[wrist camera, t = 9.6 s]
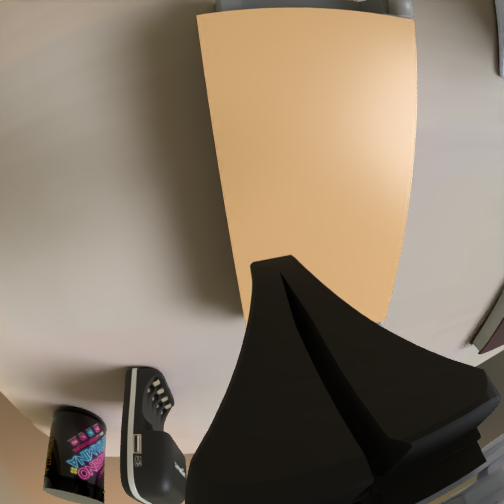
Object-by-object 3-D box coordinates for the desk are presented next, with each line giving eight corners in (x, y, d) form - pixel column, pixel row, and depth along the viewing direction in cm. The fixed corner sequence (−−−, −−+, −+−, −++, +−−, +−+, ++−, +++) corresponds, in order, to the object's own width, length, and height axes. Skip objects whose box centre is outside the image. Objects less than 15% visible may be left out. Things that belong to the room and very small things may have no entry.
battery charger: (183, 401, 28) (193, 509, 19) (147, 404, 28) (149, 509, 18) (167, 361, 24) (172, 494, 15) (124, 364, 24) (117, 492, 14)
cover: (401, 21, 10) (414, 20, 9) (378, 310, 20) (385, 320, 19) (196, 19, 9) (196, 15, 8) (248, 339, 19) (250, 351, 18)
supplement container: (108, 433, 31) (107, 508, 22) (58, 423, 29) (50, 496, 20) (106, 411, 28) (101, 498, 19) (48, 398, 26) (35, 483, 17)
